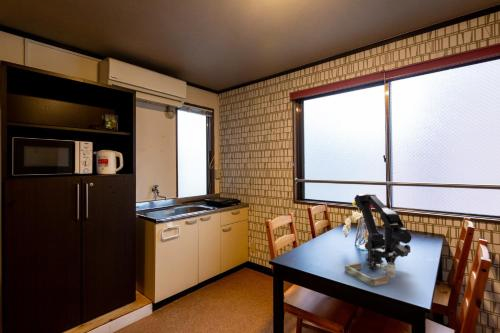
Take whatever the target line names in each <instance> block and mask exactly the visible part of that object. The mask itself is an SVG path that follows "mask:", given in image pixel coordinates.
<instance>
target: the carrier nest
mask: <svg viewBox="0 0 500 333" xmlns="http://www.w3.org/2000/svg"><path fill="white" fill-rule="evenodd" d="M359 270H362V262H355V263H351V264H345V265H344V272H346V273H347V274H349V275H351V276H353V277H354V278H357V279H358V280H360V281H362V282H364V283H365V284H367V285H369V286H371V287H373V288H374V287H377V286H380V285H385V284H387V283H390V278H389V276H388V275H387V274H386V275H381V276H378V277H373V278H372V277H370V276H368V275H367V274H365V273H362V271H359Z"/></svg>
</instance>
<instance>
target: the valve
mask: <svg viewBox="0 0 500 333" xmlns="http://www.w3.org/2000/svg"><path fill="white" fill-rule="evenodd" d="M375 260H376V258H374V257H371V259H369V260H368V261H369V262H368V264H367V265H368V266H369V267H368V269H369V270H372V271H374V270H375V269H376V268H379V269H381V270H382V271H384V272H386V275H388V276H389V279H395V278H396V274H397V273H396V272H397V269H396V263H395V262H394V263H393V262H387V261H386V264H380V263H377V261H375ZM372 261H374V262H372Z"/></svg>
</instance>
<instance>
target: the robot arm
mask: <svg viewBox="0 0 500 333" xmlns="http://www.w3.org/2000/svg"><path fill="white" fill-rule="evenodd" d="M354 202H355V205H356V206H357V208H359V209H360V211H361V214H362V217H363V220H364V222H365V227H366V229H367V232H368V235H367V238H366V239H367V242H366V243H365V244H364V249H365V250H366V251H367V257H366V258H365V259H366V260H367V261H369V259H371V257H374V258H376V260H375V261H377V264H380V263H383V262H384V260H385V262H386V263H387V262H393V263H395V261H396V259H397V258H398V257H401V258H405V257H408V255H409V254H410V253H411V252H412V251H411V246H410V245H409V243H410V242H411V241H412V235H411V233H410V232H409V231H408V230H409V229H408V228H405V226H404V222H403V221H402V219H401V218H400V215H399V213H397V212H395V211H394V210H392V209H390V208H388V207H387V206H386V205H385V204H384V203H383V202H382V201H381V200H380V199H379V198H378V197H377V195H376V194H375V193H366V194H356V195H355V196H354ZM370 207H373V208H374V209H375V210H376V211H377V212H378V213H379V217H380V220H381V221H382V223H383V224H381V227H383V228H384V233H380V232H379V231H378V228H377V225H376V222H375V218H374V216H373V213H372V211H371V208H370ZM401 243H403V244H401ZM404 244H405V245H404ZM383 259H384V260H383ZM372 262H374V261H372Z"/></svg>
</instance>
